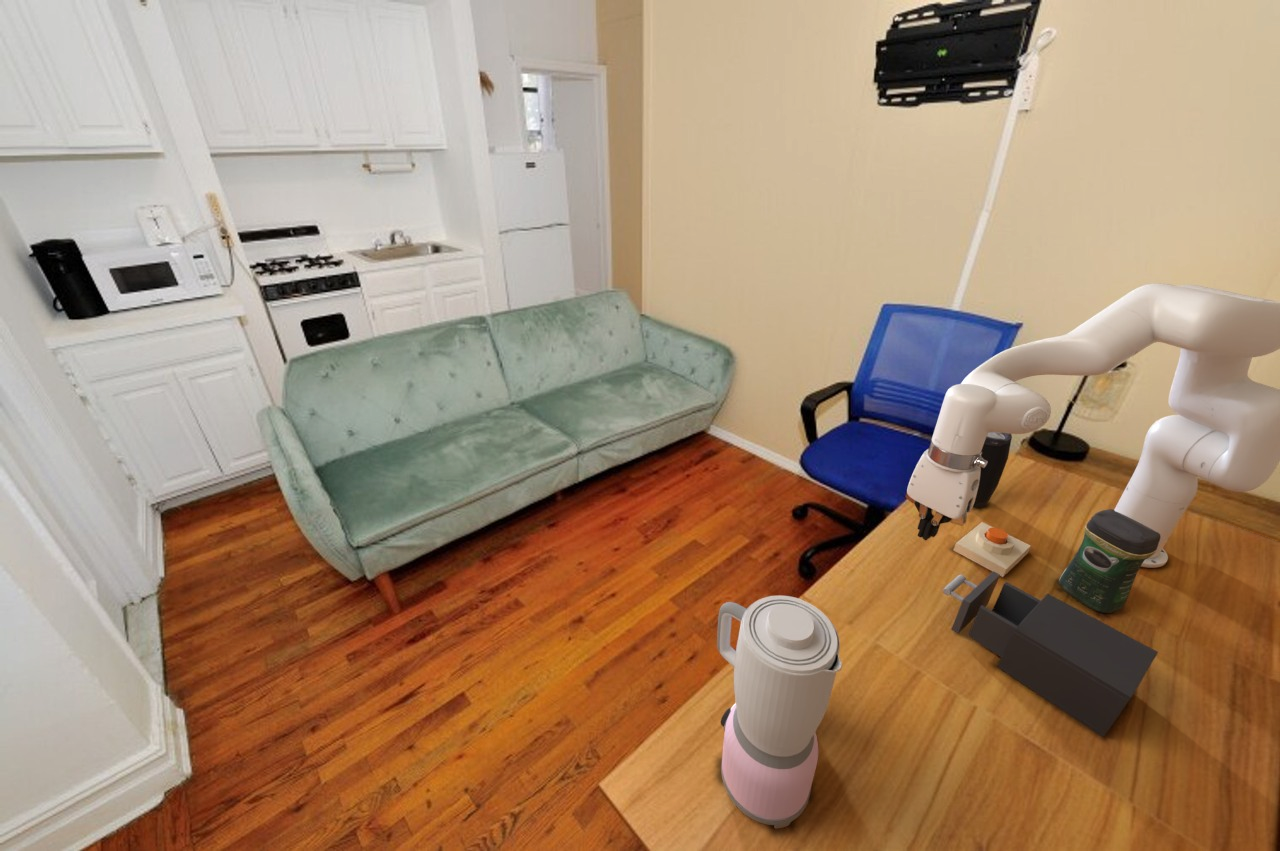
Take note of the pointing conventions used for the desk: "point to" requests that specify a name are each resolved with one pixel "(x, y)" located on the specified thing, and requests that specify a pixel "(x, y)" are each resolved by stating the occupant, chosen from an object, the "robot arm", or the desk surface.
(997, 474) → the portable speaker
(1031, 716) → the desk surface
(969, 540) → the block
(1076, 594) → the coffee jar
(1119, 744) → the desk surface
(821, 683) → the blender
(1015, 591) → the drawer
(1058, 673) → the box
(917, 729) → the desk surface
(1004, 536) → the button
